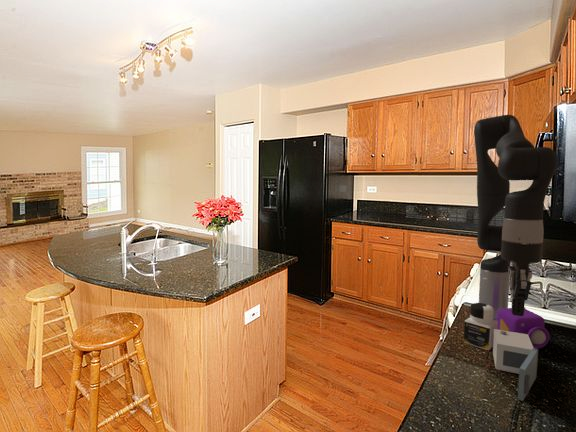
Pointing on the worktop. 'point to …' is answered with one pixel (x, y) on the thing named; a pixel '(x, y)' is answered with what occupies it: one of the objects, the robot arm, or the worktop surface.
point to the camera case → (510, 350)
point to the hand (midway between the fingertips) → (517, 314)
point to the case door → (527, 374)
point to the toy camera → (524, 325)
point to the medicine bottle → (480, 326)
